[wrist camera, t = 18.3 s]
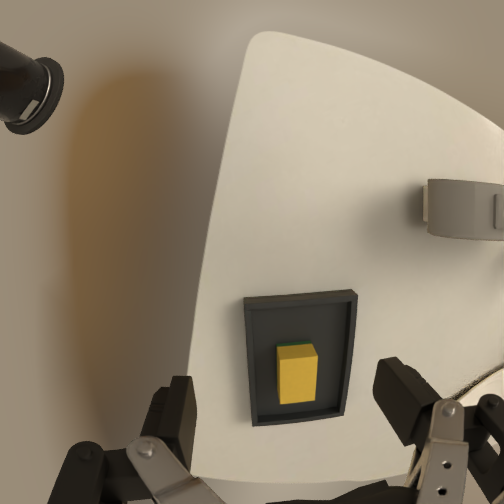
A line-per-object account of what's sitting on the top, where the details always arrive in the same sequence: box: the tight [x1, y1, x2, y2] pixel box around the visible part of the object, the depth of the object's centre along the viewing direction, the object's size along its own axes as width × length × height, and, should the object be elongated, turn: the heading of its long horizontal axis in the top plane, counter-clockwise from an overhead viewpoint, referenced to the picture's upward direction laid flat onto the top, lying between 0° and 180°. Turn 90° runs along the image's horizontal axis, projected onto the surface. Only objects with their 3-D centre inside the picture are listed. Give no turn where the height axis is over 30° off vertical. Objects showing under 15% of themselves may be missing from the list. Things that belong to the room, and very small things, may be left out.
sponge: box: [276, 341, 318, 404], centre depth 35 cm, size 7×4×4 cm, turn 3°
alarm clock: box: [423, 179, 504, 241], centre depth 28 cm, size 23×6×13 cm, turn 92°
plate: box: [457, 368, 504, 407], centre depth 42 cm, size 24×24×3 cm
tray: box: [244, 289, 358, 427], centre depth 37 cm, size 20×14×2 cm
